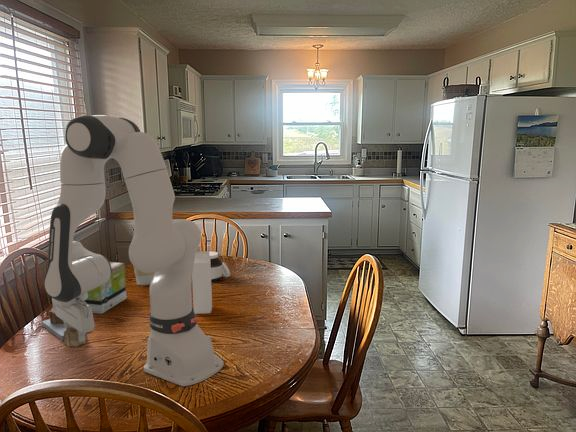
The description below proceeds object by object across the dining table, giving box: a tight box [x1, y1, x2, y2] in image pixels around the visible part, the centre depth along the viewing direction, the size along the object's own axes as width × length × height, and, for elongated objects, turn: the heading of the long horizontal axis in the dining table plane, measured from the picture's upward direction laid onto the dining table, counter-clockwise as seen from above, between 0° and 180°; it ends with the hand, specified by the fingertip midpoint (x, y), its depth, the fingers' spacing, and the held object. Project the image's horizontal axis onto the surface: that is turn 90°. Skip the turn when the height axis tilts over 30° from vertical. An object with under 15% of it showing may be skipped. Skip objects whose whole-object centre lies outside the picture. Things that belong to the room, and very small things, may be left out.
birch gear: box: [63, 327, 89, 348], centre depth 128 cm, size 6×6×4 cm
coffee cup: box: [133, 266, 155, 286], centre depth 178 cm, size 9×9×15 cm
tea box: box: [85, 261, 127, 315], centre depth 154 cm, size 15×10×15 cm, turn 168°
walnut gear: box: [48, 307, 64, 324], centre depth 139 cm, size 6×6×4 cm
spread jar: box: [209, 251, 231, 283], centre depth 183 cm, size 12×11×12 cm
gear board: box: [41, 318, 66, 341], centre depth 137 cm, size 16×9×6 cm, turn 50°
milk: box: [191, 250, 213, 315], centre depth 149 cm, size 6×6×22 cm
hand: (75, 337), depth 128 cm, fingers closed on birch gear, 6 cm apart
